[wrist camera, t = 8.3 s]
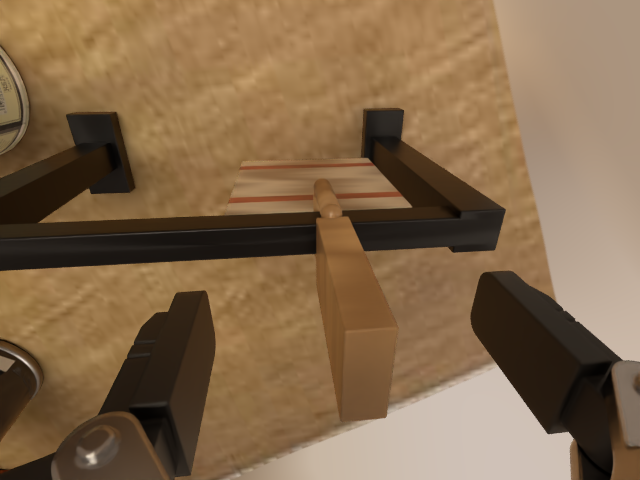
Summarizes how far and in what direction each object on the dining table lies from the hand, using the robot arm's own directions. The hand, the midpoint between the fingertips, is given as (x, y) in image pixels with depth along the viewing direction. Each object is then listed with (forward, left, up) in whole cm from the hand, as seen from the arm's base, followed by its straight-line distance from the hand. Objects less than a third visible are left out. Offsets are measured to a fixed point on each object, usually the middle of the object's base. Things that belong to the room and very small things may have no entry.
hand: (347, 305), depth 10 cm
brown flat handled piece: (0, 0, -17) cm, 17 cm away
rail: (-4, 0, -21) cm, 22 cm away
